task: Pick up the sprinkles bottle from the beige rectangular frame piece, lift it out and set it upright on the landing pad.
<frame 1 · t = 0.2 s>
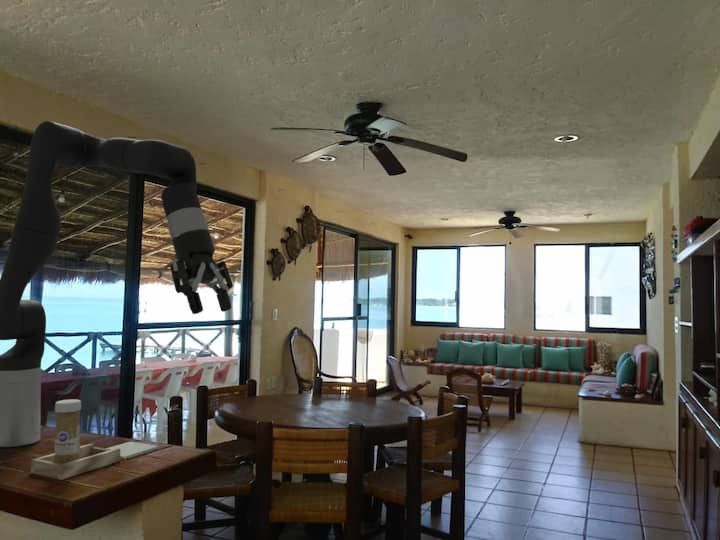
hand: (212, 311, 111), 31 cm above the counter, tool tilted 20°, fingers open, 8 cm apart
landing pad: (127, 451, 124), on the counter
beige rectangular frame piece: (99, 460, 118), on the counter
sprinkles bottle: (67, 470, 112), resting in beige rectangular frame piece
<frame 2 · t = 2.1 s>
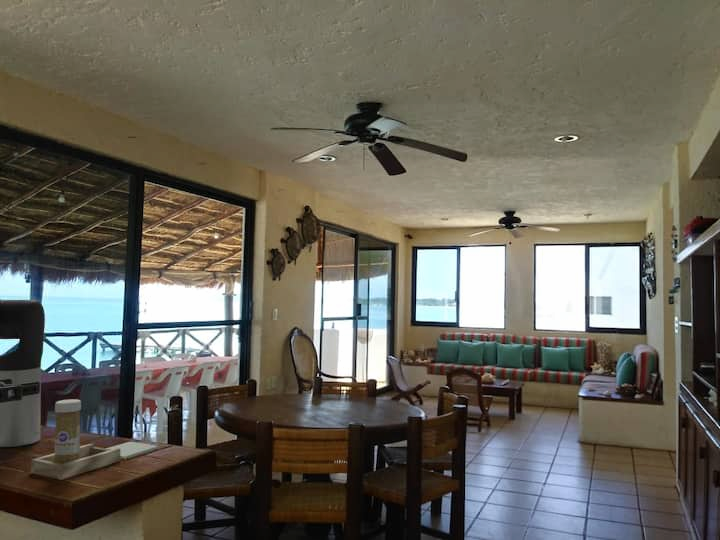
hand: (24, 385, 105), 18 cm above the counter, tool horizontal, fingers open, 8 cm apart
nothing on the counter moved.
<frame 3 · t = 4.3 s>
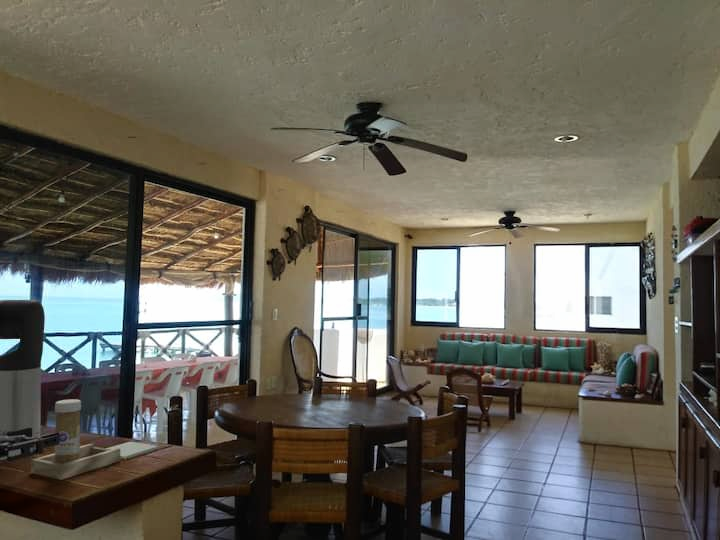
hand: (44, 435, 108), 8 cm above the counter, tool horizontal, fingers open, 8 cm apart
nothing on the counter moved.
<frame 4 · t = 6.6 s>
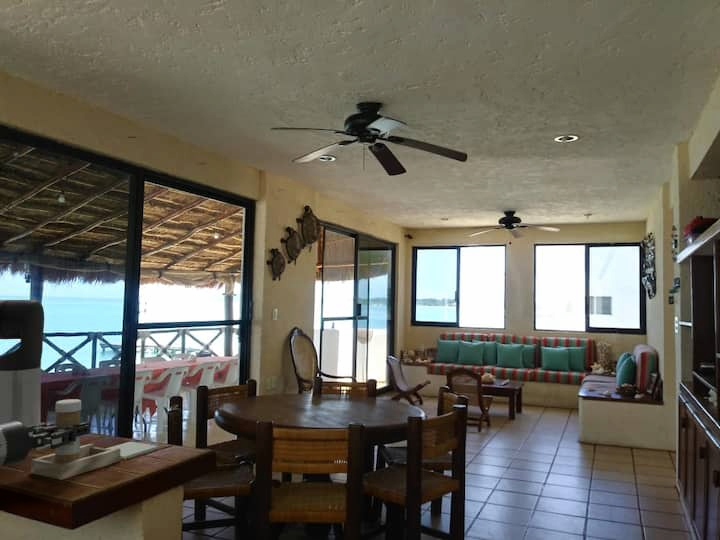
hand: (80, 426, 115), 8 cm above the counter, tool horizontal, fingers closed on sprinkles bottle, 4 cm apart
sprinkles bottle: (67, 470, 112), resting in beige rectangular frame piece, touching gripper
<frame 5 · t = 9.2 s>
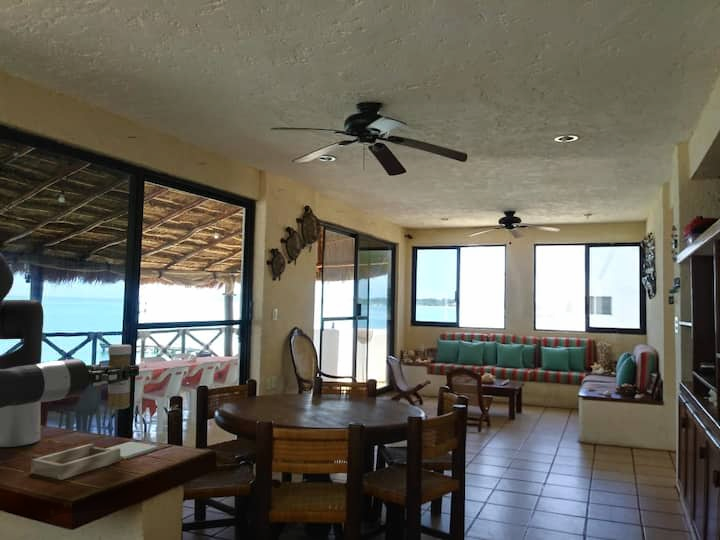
hand: (129, 369, 125), 18 cm above the counter, tool horizontal, fingers closed on sprinkles bottle, 4 cm apart
sprinkles bottle: (118, 408, 123), point 10 cm above the counter, touching gripper
when the fingers open (9 cm above the counter, at t = 11.8 s): sprinkles bottle stays where it is, resting on landing pad.
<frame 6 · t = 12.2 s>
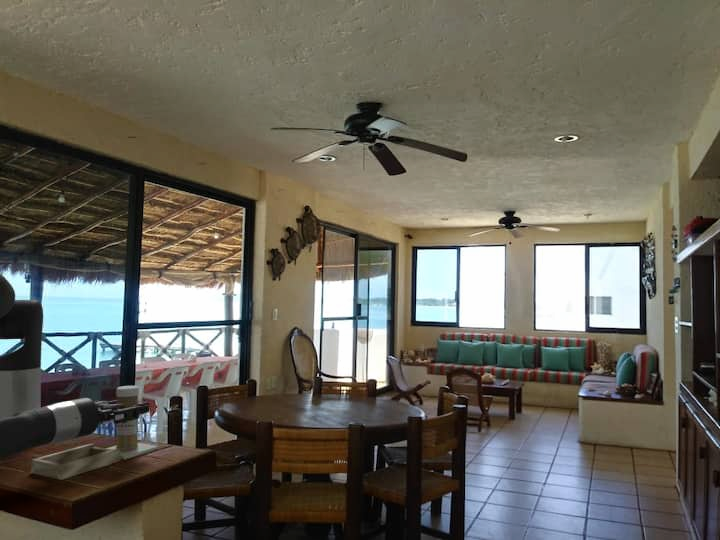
hand: (135, 405, 126), 10 cm above the counter, tool horizontal, fingers open, 7 cm apart
sprinkles bottle: (127, 449, 124), resting on landing pad
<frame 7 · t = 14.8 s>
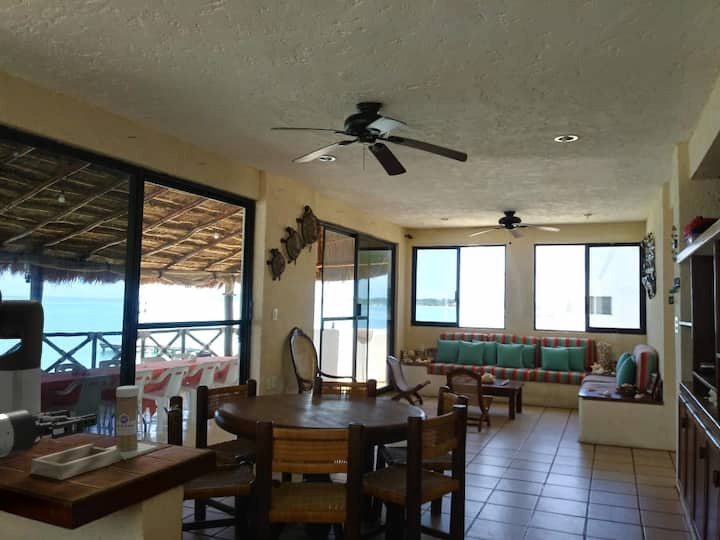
hand: (82, 417, 115), 10 cm above the counter, tool horizontal, fingers open, 8 cm apart
nothing on the counter moved.
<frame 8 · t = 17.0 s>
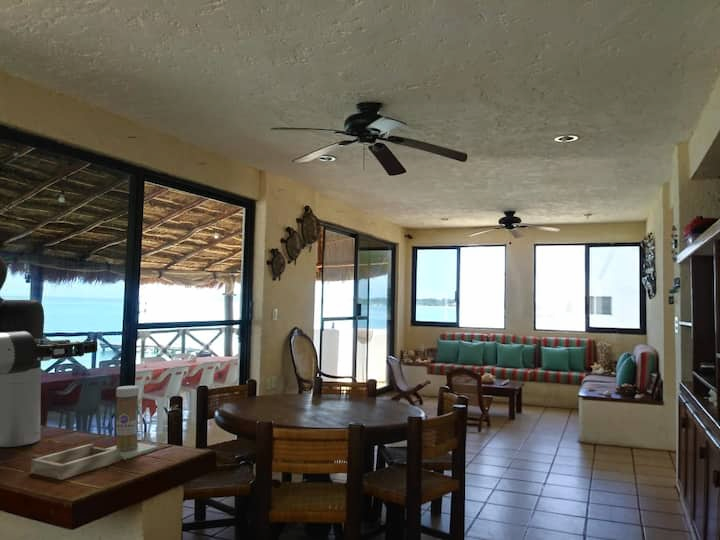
hand: (82, 345, 115), 24 cm above the counter, tool horizontal, fingers open, 8 cm apart
nothing on the counter moved.
at the end: sprinkles bottle 0.1 cm off-centre on the landing pad, point 0.4 cm above the landing pad's base; sprinkles bottle tilted 0°; the gripper is holding nothing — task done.
